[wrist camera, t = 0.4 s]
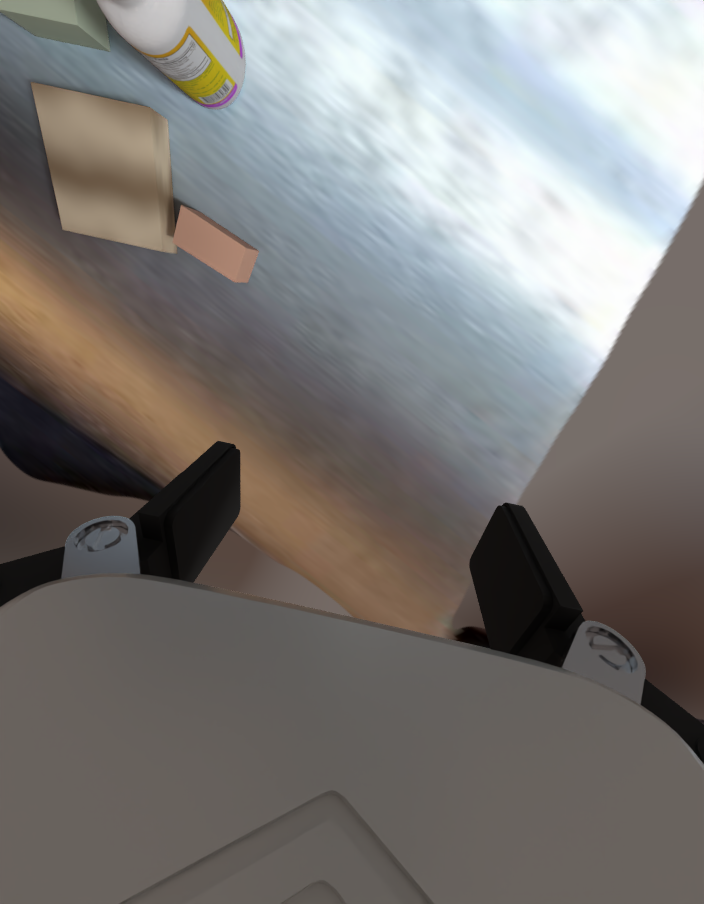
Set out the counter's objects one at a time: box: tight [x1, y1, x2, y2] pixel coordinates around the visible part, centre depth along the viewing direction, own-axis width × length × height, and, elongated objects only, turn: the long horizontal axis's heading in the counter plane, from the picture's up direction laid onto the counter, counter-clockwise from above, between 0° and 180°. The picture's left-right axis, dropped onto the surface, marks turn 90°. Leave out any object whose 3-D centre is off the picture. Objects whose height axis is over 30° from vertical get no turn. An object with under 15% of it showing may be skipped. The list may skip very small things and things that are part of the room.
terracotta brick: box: [172, 205, 259, 282], centre depth 33 cm, size 7×4×4 cm, turn 59°
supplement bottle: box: [96, 0, 246, 109], centre depth 22 cm, size 7×7×13 cm
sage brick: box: [0, 0, 110, 52], centre depth 26 cm, size 7×4×4 cm, turn 79°
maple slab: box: [31, 82, 177, 254], centre depth 32 cm, size 11×11×2 cm
